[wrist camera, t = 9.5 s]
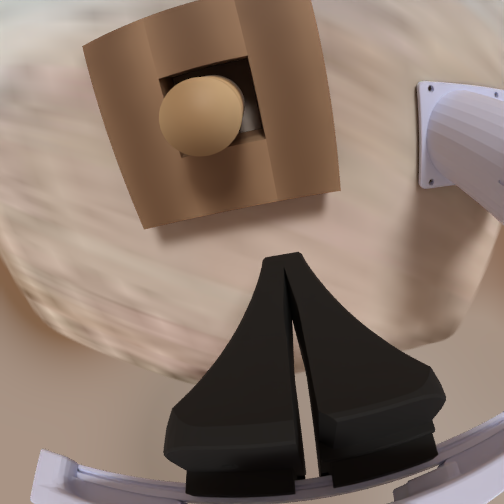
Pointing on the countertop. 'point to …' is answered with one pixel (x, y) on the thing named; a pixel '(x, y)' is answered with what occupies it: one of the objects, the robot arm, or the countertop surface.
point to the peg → (202, 115)
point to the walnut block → (245, 144)
